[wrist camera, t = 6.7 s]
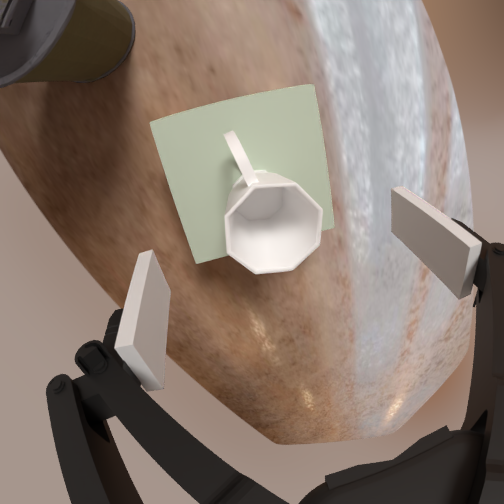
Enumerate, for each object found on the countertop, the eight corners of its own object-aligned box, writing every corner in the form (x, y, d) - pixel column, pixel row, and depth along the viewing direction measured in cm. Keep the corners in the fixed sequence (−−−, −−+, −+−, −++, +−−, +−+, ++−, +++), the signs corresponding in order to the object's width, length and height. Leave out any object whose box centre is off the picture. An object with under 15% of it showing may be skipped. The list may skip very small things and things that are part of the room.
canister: (151, 7, 24) (95, -71, 7) (113, 92, 28) (15, 105, 11) (69, -8, 21) (-31, -59, 4) (36, 73, 25) (-87, 86, 8)
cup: (236, 240, 30) (248, 291, 23) (186, 145, 25) (179, 168, 18) (304, 209, 29) (337, 250, 22) (263, 109, 24) (288, 118, 17)
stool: (162, 114, 31) (149, 122, 23) (288, 84, 31) (313, 84, 24) (197, 227, 38) (196, 264, 30) (309, 198, 38) (334, 227, 31)
